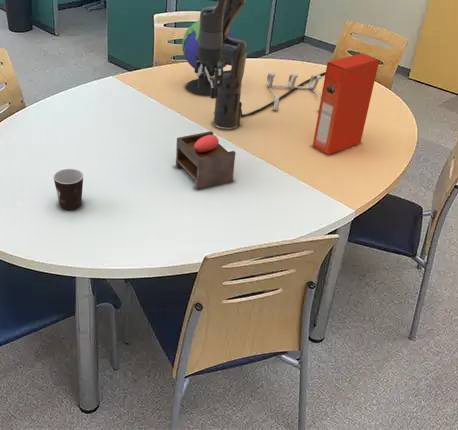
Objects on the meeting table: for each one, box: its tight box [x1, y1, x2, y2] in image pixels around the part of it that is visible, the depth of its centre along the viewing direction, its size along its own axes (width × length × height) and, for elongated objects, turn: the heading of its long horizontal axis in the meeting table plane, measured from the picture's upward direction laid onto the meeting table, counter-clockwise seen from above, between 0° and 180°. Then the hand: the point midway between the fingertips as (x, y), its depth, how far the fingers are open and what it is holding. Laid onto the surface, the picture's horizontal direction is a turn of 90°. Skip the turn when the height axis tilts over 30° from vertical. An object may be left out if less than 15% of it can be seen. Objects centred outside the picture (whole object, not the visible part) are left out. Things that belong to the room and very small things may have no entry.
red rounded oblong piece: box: [194, 134, 220, 153], centre depth 189 cm, size 5×9×6 cm, turn 120°
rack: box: [175, 130, 236, 191], centre depth 192 cm, size 13×16×11 cm
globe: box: [181, 19, 235, 97], centre depth 247 cm, size 22×22×30 cm
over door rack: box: [266, 72, 322, 111], centre depth 247 cm, size 22×29×10 cm
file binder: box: [312, 53, 380, 155], centre depth 207 cm, size 8×17×32 cm, turn 125°
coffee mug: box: [53, 168, 84, 212], centre depth 173 cm, size 12×9×10 cm
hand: (207, 92), depth 189 cm, fingers open, 8 cm apart
